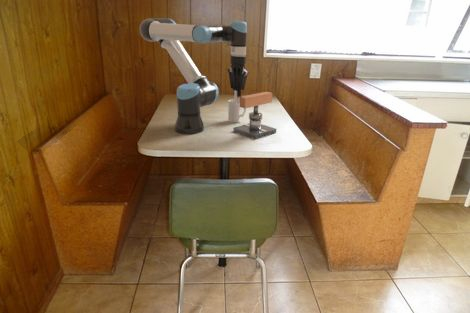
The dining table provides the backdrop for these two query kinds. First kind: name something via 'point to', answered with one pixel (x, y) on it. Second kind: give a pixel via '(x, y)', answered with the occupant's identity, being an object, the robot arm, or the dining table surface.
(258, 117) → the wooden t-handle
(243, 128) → the base
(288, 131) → the dining table surface
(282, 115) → the dining table surface
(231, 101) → the mug
